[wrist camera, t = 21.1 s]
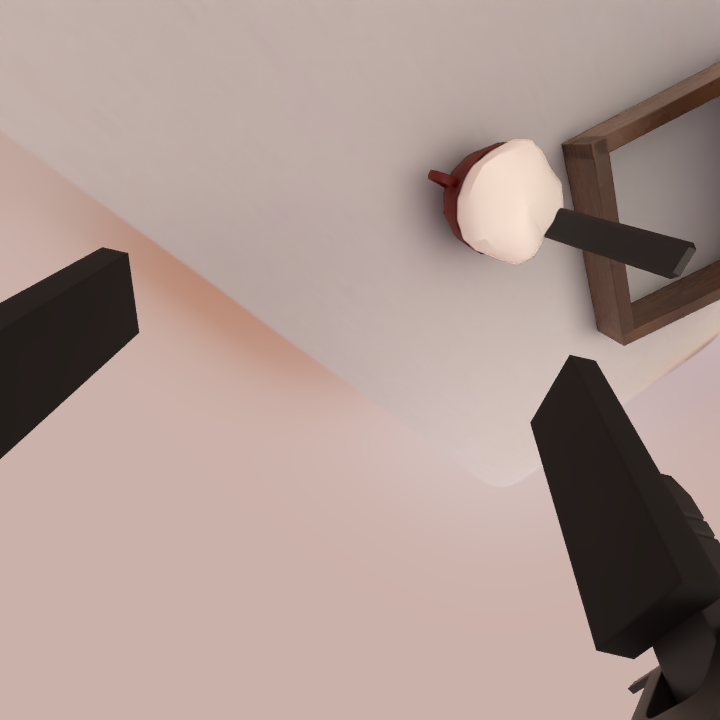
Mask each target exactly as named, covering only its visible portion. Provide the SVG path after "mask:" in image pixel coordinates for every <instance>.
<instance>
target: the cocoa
mask: <svg viewBox="0 0 720 720" xmlns="http://www.w3.org/2000/svg"><path fill="white" fill-rule="evenodd" d="M428 179H430V180H432V181H433V182H435V183H437V184H439V185H440V186H442V187H444V188H445V190H444V193H443V198H444V215H445V217H446V219H447V221H448V223H449V225H450V227H451V229H452V231H453V233H454V235H455V236H456V237H457V238H458V239H459V240H460V241H462V242H463V243H465V244H466V245H468V246H469V247H471V248H472V249H473V250H475V251H477V252H478V253H480V254H487V255H489V256H492V257H494V258H497V259H500V260H502V261H505V262H508V263H512V264H517V265H519V264H521V263H523V262H525V261H526V260H528V259H530V258H532V257H534V255H535V254H536V252H537V250H538V249H539V247H540V245H541V244H542V242H543V240H544V239H545V238H549V239H552V240H555V241H558V242H561V243H564V244H567V245H570V246H573V247H576V248H579V249H582V250H585V251H588V252H591V253H594V254H597V255H600V256H603V257H606V258H609V259H612V260H615V261H618V262H621V263H624V264H627V265H630V266H633V267H636V268H639V269H642V270H645V271H648V272H651V273H654V274H657V275H660V276H663V277H666V278H669V279H672V278H675V277H678V276H680V275H681V273H682V272H683V270H684V269H685V267H686V265H687V264H688V262H689V261H690V259H691V258H692V256H693V255H694V253H695V251H696V248H695V245H694V243H692V242H688V241H684V240H681V239H677V238H673V237H669V236H666V235H662V234H658V233H654V232H651V231H647V230H643V229H639V228H635V227H632V226H628V225H624V224H620V223H617V222H613V221H609V220H605V219H602V218H598V217H594V216H590V215H587V214H583V213H579V212H575V211H572V210H568V209H564V208H563V207H564V205H563V193H562V183H561V181H560V180H559V179H558V177H557V176H556V175H555V173H554V172H553V171H552V169H551V168H550V166H549V164H548V162H547V159H546V157H545V155H544V153H543V152H542V150H541V149H540V148H539V147H538V146H537V145H536V144H535V143H534V142H533V141H532V140H531V139H513V140H511V141H509V142H502V143H496V144H493V145H491V146H488V147H486V148H484V149H481V150H479V151H476V152H474V153H472V154H470V155H468V156H467V157H466V158H465V159H464V160H463V161H462V162H461V163H460V164H459V165H458V166H457V167H456V168H455V169H454V170H453V172H452V173H451V175H448V174H445V173H442V172H439V171H435V170H430V172H429V174H428Z"/></svg>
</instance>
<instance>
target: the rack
mask: <svg viewBox="0 0 720 720" xmlns="http://www.w3.org/2000/svg"><path fill="white" fill-rule="evenodd" d="M719 95H720V62H718V63H716V64H714V65H712V66H710V67H708V68H707V69H705V70H703V71H701V72H699V73H697V74H695V75H693V76H691V77H689V78H687V79H685V80H684V81H682V82H680V83H678V84H676V85H674V86H672V87H670V88H668V89H666V90H664V91H662V92H661V93H659V94H657V95H655V96H653V97H651V98H649V99H647V100H645V101H643V102H641V103H639V104H638V105H636V106H634V107H632V108H630V109H628V110H626V111H624V112H622V113H620V114H618V115H616V116H614V117H613V118H611V119H609V120H607V121H605V122H603V123H601V124H599V125H597V126H595V127H593V128H591V129H590V130H588V131H586V132H584V133H582V134H580V135H578V136H576V137H574V138H572V139H570V140H568V141H567V142H565V143H563V144H562V147H563V152H564V157H565V162H566V167H567V173H568V178H569V183H570V188H571V193H572V198H573V203H574V209H575V212H579V213H583V214H587V215H590V216H594V217H598V218H602V219H605V220H609V221H613V222H617V223H619V219H618V212H617V205H616V198H615V191H614V184H613V177H612V170H611V163H610V156H609V152H611V151H613V150H615V149H617V148H619V147H621V146H623V145H625V144H626V143H628V142H630V141H632V140H634V139H636V138H638V137H640V136H642V135H644V134H646V133H648V132H650V131H652V130H654V129H656V128H657V127H659V126H661V125H663V124H665V123H667V122H669V121H671V120H673V119H675V118H677V117H679V116H681V115H683V114H685V113H687V112H688V111H690V110H692V109H694V108H696V107H698V106H700V105H702V104H704V103H706V102H708V101H710V100H712V99H714V98H716V97H717V96H719ZM583 255H584V260H585V265H586V270H587V275H588V281H589V286H590V291H591V296H592V301H593V306H594V311H595V317H596V323H597V328H598V331H599V332H601V333H603V334H605V335H606V336H608V337H610V338H611V339H613V340H615V341H617V342H618V343H620V344H622V345H623V346H625V345H627V344H629V343H631V342H633V341H635V340H637V339H639V338H641V337H644V336H646V335H648V334H650V333H652V332H654V331H656V330H658V329H660V328H662V327H664V326H666V325H668V324H670V323H672V322H674V321H676V320H678V319H681V318H683V317H685V316H687V315H689V314H691V313H693V312H695V311H697V310H699V309H701V308H703V307H705V306H707V305H709V304H711V303H713V302H715V301H718V300H720V260H719V261H717V262H715V263H713V264H711V265H709V266H707V267H705V268H703V269H701V270H699V271H697V272H695V273H693V274H691V275H689V276H687V277H685V278H683V279H681V280H679V281H676V282H674V283H672V284H670V285H668V286H666V287H664V288H662V289H660V290H658V291H656V292H654V293H652V294H650V295H648V296H646V297H644V298H642V299H640V300H638V301H636V302H634V303H632V304H631V302H630V295H629V288H628V281H627V274H626V267H625V264H624V263H621V262H618V261H615V260H612V259H609V258H606V257H603V256H600V255H597V254H594V253H591V252H588V251H585V250H583Z"/></svg>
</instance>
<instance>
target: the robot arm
mask: <svg viewBox="0 0 720 720" xmlns="http://www.w3.org/2000/svg"><path fill="white" fill-rule="evenodd" d="M129 264H130V263H129V256H128V253H125V252H120V251H116V250H112V249H107V248H100V249H98V250H96V251H95V252H93V253H91V254H89V255H87V256H85V257H84V258H82V259H80V260H78V261H76V262H74V263H73V264H71V265H69V266H67V267H65V268H63V269H62V270H60V271H58V272H56V273H54V274H53V275H51V276H49V277H47V278H45V279H43V280H42V281H40V282H38V283H36V284H34V285H32V286H31V287H29V288H27V289H25V290H23V291H21V292H20V293H18V294H16V295H14V296H12V297H10V298H9V299H7V300H5V301H3V302H1V303H0V459H1V458H2V457H3V456H4V455H5V454H6V453H7V452H8V451H10V450H11V449H12V448H13V447H14V446H15V445H16V444H17V443H18V442H20V441H21V440H22V439H23V438H24V437H25V436H26V435H27V434H28V433H29V432H31V431H32V430H33V429H34V428H35V427H36V426H37V425H38V424H39V423H40V422H42V421H43V420H44V419H45V418H46V417H47V416H48V415H49V414H50V413H51V412H53V411H54V410H55V409H56V408H57V407H58V406H59V405H60V404H61V403H62V402H64V401H65V400H66V399H67V398H68V397H69V396H70V395H71V394H72V393H73V392H74V391H76V390H77V389H78V388H79V387H80V386H81V385H82V384H83V383H84V382H85V381H87V380H88V379H89V378H90V377H91V376H92V375H93V374H94V373H95V372H96V371H98V369H100V368H101V367H102V366H103V365H104V364H105V363H106V362H107V361H109V360H110V359H111V358H112V357H113V356H114V355H115V354H116V353H117V352H118V351H120V350H121V349H122V348H123V347H124V346H125V345H126V344H127V343H128V342H129V341H130V340H132V339H133V338H134V337H135V336H136V335H137V334H138V333H139V328H138V321H137V313H136V306H135V299H134V292H133V285H132V278H131V272H130V271H131V270H130V265H129ZM531 427H532V430H533V434H534V437H535V440H536V444H537V447H538V451H539V454H540V458H541V461H542V465H543V468H544V472H545V475H546V478H547V482H548V485H549V489H550V492H551V496H552V499H553V503H554V506H555V509H556V513H557V516H558V520H559V523H560V527H561V530H562V534H563V537H564V541H565V544H566V547H567V551H568V554H569V558H570V561H571V564H572V568H573V572H574V575H575V578H576V582H577V585H578V589H579V592H580V595H581V599H582V603H583V606H584V609H585V613H586V616H587V620H588V623H589V627H590V630H591V634H592V637H593V640H594V644H595V647H596V650H597V651H601V652H605V653H610V654H614V655H618V656H622V657H627V658H631V659H635V658H636V657H638V656H639V655H641V654H642V653H643V652H645V651H646V650H648V649H649V648H651V647H652V646H653V649H654V652H655V654H656V657H657V659H658V662H659V664H660V666H658V667H656V668H655V669H654V670H652V671H650V672H649V673H647V674H646V675H644V676H643V677H641V678H640V679H638V680H637V681H635V682H634V683H633V684H632V685H631V686H630V687H629V688H628V689H629V690H630V691H631V692H632V693H633V694H634V693H636V692H638V691H639V690H641V689H642V688H644V690H643V693H642V695H641V698H640V700H639V702H638V705H637V707H636V710H635V712H634V715H633V717H632V720H720V543H719V541H718V540H717V539H714V536H715V535H714V533H713V531H712V530H711V528H710V527H709V525H708V523H707V522H706V521H703V518H704V517H703V515H702V514H701V512H700V510H699V509H698V507H697V505H696V504H695V502H694V501H693V499H692V497H691V496H690V495H689V494H688V493H687V492H686V491H685V490H684V489H683V488H682V487H681V486H680V485H679V484H678V483H677V482H676V481H675V480H674V479H673V478H672V477H671V476H669V475H664V474H660V472H659V470H658V468H657V467H656V465H655V463H654V461H653V460H652V458H651V456H650V454H649V453H648V451H647V449H646V448H645V446H644V444H643V442H642V441H641V439H640V437H639V435H638V434H637V432H636V430H635V428H634V427H633V425H632V423H631V422H630V420H629V418H628V416H627V414H626V413H625V411H624V409H623V407H622V406H621V404H620V402H619V401H618V399H617V397H616V395H615V394H614V392H613V390H612V388H611V387H610V385H609V383H608V381H607V380H606V378H605V376H604V374H603V373H602V371H601V369H600V368H599V366H598V364H597V362H596V361H594V360H590V359H586V358H581V357H577V356H573V355H569V357H568V359H567V361H566V362H565V364H564V366H563V367H562V369H561V371H560V373H559V374H558V376H557V378H556V379H555V381H554V383H553V385H552V386H551V388H550V390H549V392H548V393H547V395H546V397H545V398H544V400H543V402H542V404H541V405H540V407H539V409H538V410H537V412H536V414H535V416H534V417H533V419H532V421H531Z"/></svg>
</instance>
